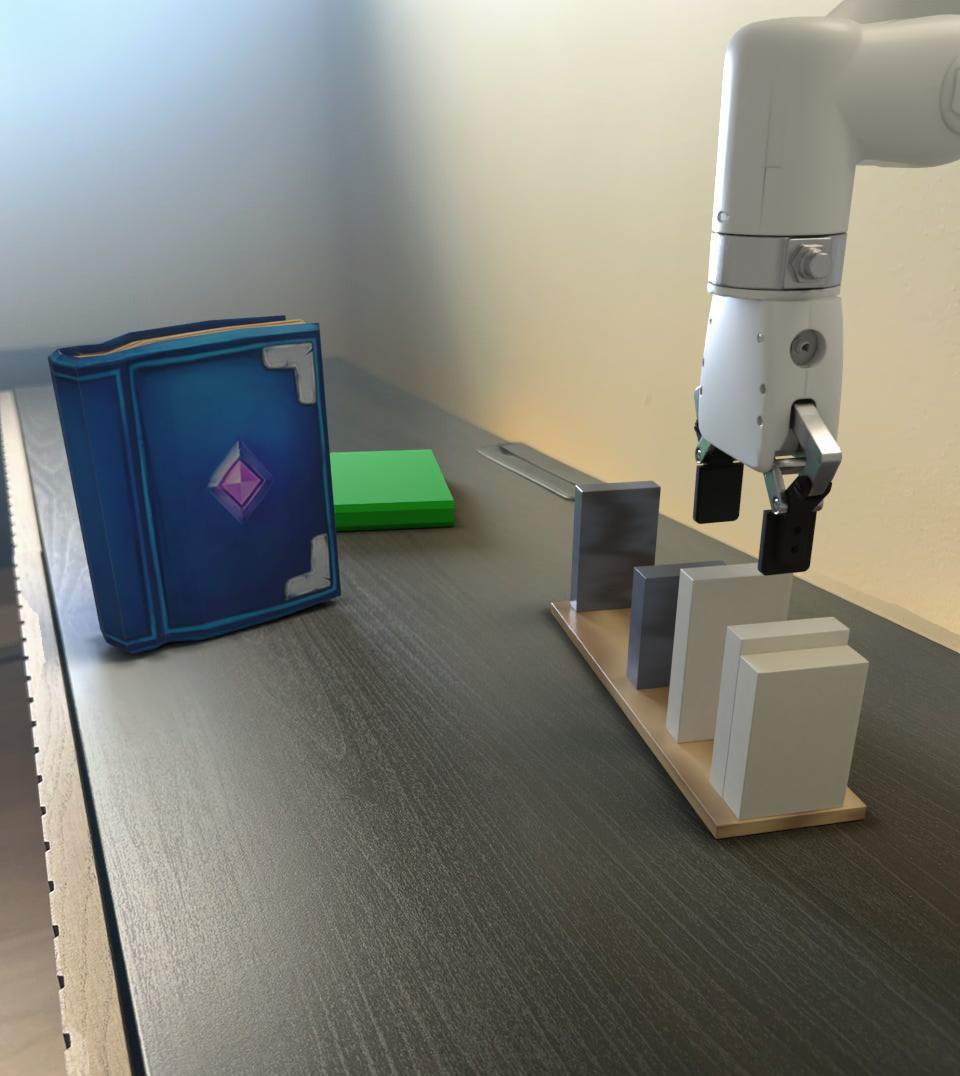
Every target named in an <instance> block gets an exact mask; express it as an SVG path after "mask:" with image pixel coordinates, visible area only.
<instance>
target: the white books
mask: <svg viewBox="0 0 960 1076" xmlns="http://www.w3.org/2000/svg"><path fill="white" fill-rule="evenodd" d="M850 632H851V629H850V627H847V626H846V625H845V624H844V623H843V622H841V621H840V620H838V619H837V618H836V617H834V616H823V617H811V618H802V619H801V618H800V619H791V620H790V619H789V620H787V621H778V622H767V623H756V624H745V625H734V626H727V633H726V642H725V651H724V659H723V668H722V677H721V685H720V694H719V703H718V711H717V720H716V729H715V738H714V746H713V755H712V764H711V772H710V781H709V782H710V784H711V785H712V786H713V788H714V789H715V790H716V791H717V793H718V794H719V795H720V797H721V798H722V799H723V800H724V801H725V803H726V804H727V805H728V807H729V808H730V809H731V810H732V812H733V813H734V814H735V815H736V817H737V818H738V819H739V820H746V819H753V818H761V817H768V816H776V815H784V814H791V813H799V812H806V811H814V810H822V809H829V808H837V807H843V806H844V800H845V794H846V789H847V787H848V784H849V783H848V782H849V776H850V771H851V765H852V762H853V761H852V760H853V755H854V751H855V750H854V749H855V743H856V738H857V732H858V728H859V721H860V715H861V710H862V704H863V699H864V693H865V687H866V683H867V677H868V672H869V666H870V661H869V660H867V658H865V657H864V656H862V655H861V654H860V653H858V652H857V651H856V650H855V649H853V648H852V647H851V646H850V645H848V644H849V639H850Z"/></svg>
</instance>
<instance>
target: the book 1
mask: <svg viewBox="0 0 960 1076" xmlns="http://www.w3.org/2000/svg"><path fill="white" fill-rule="evenodd" d="M320 328H321V327H320V322H310V323H309V322H308V323H307V322H306V321H304V320H303V319H302V318H297V319H288V320H287V317H286V314H282V315H267V316H253V317H252V316H251V317H237V318H222V319H209V320H202V321H201V320H200V321H195V322H188V323H183V324H177V325H176V324H175V325H169V326H162V327H157V328H150V329H143V330H137V331H131V332H127V333H124V334H122V335H118V336H116V337H114V338H112V339H109V340H105V341H104V342H101V343H94V344H81V345H74V346H73V345H72V346H67V347H61V348H57V349H55V350H54V351H53V352H52V353H50V355H48V356H47V363H48V368H49V372H50V377H51V382H52V383H51V384H52V388H53V392H54V398H55V403H56V408H57V414H58V419H59V424H60V429H61V434H62V439H63V445H64V449H65V454H66V455H65V456H66V461H67V466H68V470H69V476H70V480H71V486H72V491H73V497H74V501H75V507H76V511H77V517H78V523H79V527H80V532H81V537H82V543H83V548H84V553H85V556H86V557H85V559H86V563H87V569H88V574H89V578H90V579H89V580H90V584H91V588H92V589H91V590H92V594H93V599H94V604H95V609H96V615H97V620H98V626H99V629H100V632H101V634H102V637H103V639H104V642H105V643H106V644H108V645H111V646H112V647H114V648H116V649H120V650H122V651H124V652H126V653H129V654H132V655H136V654H140V653H144V652H147V651H148V652H149V651H151V650H155V649H158V648H159V647H161V646H164V645H165V644H167V643H172V642H173V643H174V642H175V643H177V642H194V641H195V642H196V641H197V642H198V641H204V640H205V641H206V640H208V639H212V638H216V637H219V636H222V635H225V634H229V633H233V632H236V631H239V630H243V629H247V628H250V627H254V626H259V625H262V624H265V623H268V622H271V621H275V620H278V619H281V618H283V617H286V616H289V615H291V614H294V613H297V612H299V611H300V612H301V611H303V610H306V609H309V608H311V607H313V606H317V605H319V604H322V603H325V602H327V601H330V600H333V599H335V598H338V597H341V596H342V587H341V576H340V574H341V573H340V563H339V562H340V561H339V549H338V539H337V531H336V524H335V511H334V499H333V487H332V474H331V462H330V453H331V452H330V450H331V449H330V439H329V427H328V426H329V425H328V415H327V412H328V411H327V401H326V389H325V378H324V377H325V376H324V363H323V352H322V351H323V350H322V339H321V329H320Z"/></svg>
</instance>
